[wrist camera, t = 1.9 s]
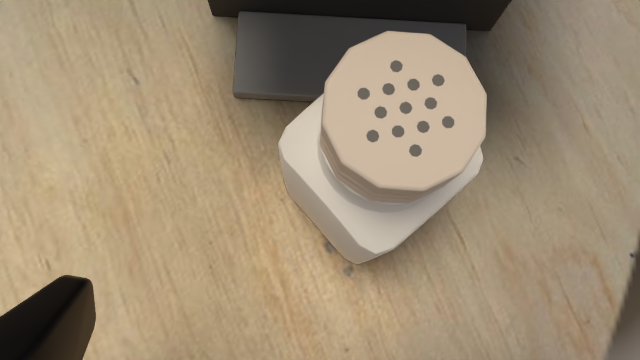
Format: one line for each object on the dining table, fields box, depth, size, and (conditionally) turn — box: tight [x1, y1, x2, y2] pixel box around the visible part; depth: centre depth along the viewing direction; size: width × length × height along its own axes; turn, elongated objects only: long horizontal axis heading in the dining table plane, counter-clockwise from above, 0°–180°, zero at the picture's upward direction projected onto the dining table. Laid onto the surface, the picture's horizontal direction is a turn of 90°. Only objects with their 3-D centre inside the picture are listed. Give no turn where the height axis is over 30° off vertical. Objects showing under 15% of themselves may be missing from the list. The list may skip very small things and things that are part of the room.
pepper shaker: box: [278, 31, 487, 264], centre depth 16 cm, size 4×4×10 cm
